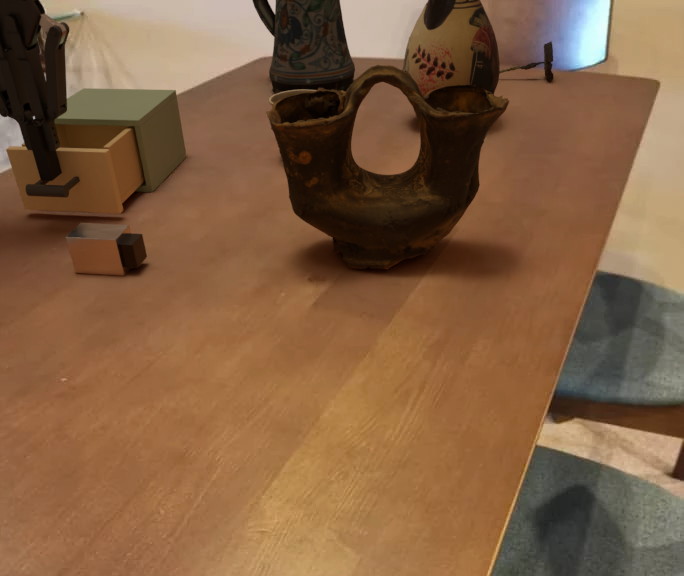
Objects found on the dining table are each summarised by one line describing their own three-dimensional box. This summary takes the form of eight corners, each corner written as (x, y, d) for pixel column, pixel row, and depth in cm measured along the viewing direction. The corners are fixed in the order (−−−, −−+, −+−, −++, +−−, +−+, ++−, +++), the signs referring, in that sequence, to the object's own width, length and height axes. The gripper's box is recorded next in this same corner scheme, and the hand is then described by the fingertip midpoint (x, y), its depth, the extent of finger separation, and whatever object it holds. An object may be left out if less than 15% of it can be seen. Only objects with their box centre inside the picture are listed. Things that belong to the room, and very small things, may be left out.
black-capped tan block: (75, 273, 84) (64, 237, 81) (90, 257, 87) (80, 222, 84) (137, 276, 83) (129, 240, 80) (150, 261, 85) (142, 225, 83)
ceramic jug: (448, 105, 130) (461, -106, 110) (512, 125, 120) (540, -102, 101) (374, 125, 122) (375, -98, 102) (438, 148, 113) (452, -93, 93)
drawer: (104, 229, 90) (88, 166, 85) (6, 225, 92) (-16, 162, 87) (156, 176, 104) (145, 118, 99) (70, 173, 106) (55, 116, 101)
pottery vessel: (484, 232, 89) (504, 52, 76) (496, 273, 81) (521, 79, 68) (282, 235, 90) (267, 57, 77) (273, 276, 82) (255, 84, 69)
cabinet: (152, 192, 102) (138, 120, 96) (56, 188, 104) (36, 117, 98) (186, 156, 113) (175, 89, 106) (98, 154, 115) (83, 88, 108)
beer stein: (354, 99, 134) (351, -67, 118) (250, 101, 135) (233, -63, 118) (356, 76, 146) (354, -77, 130) (261, 78, 147) (247, -74, 131)
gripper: (63, -58, 77) (112, 168, 92) (-50, -58, 78) (18, 163, 94) (28, -49, 71) (87, 190, 86) (-92, -49, 73) (-13, 185, 88)
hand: (51, 176), depth 90 cm, fingers closed
